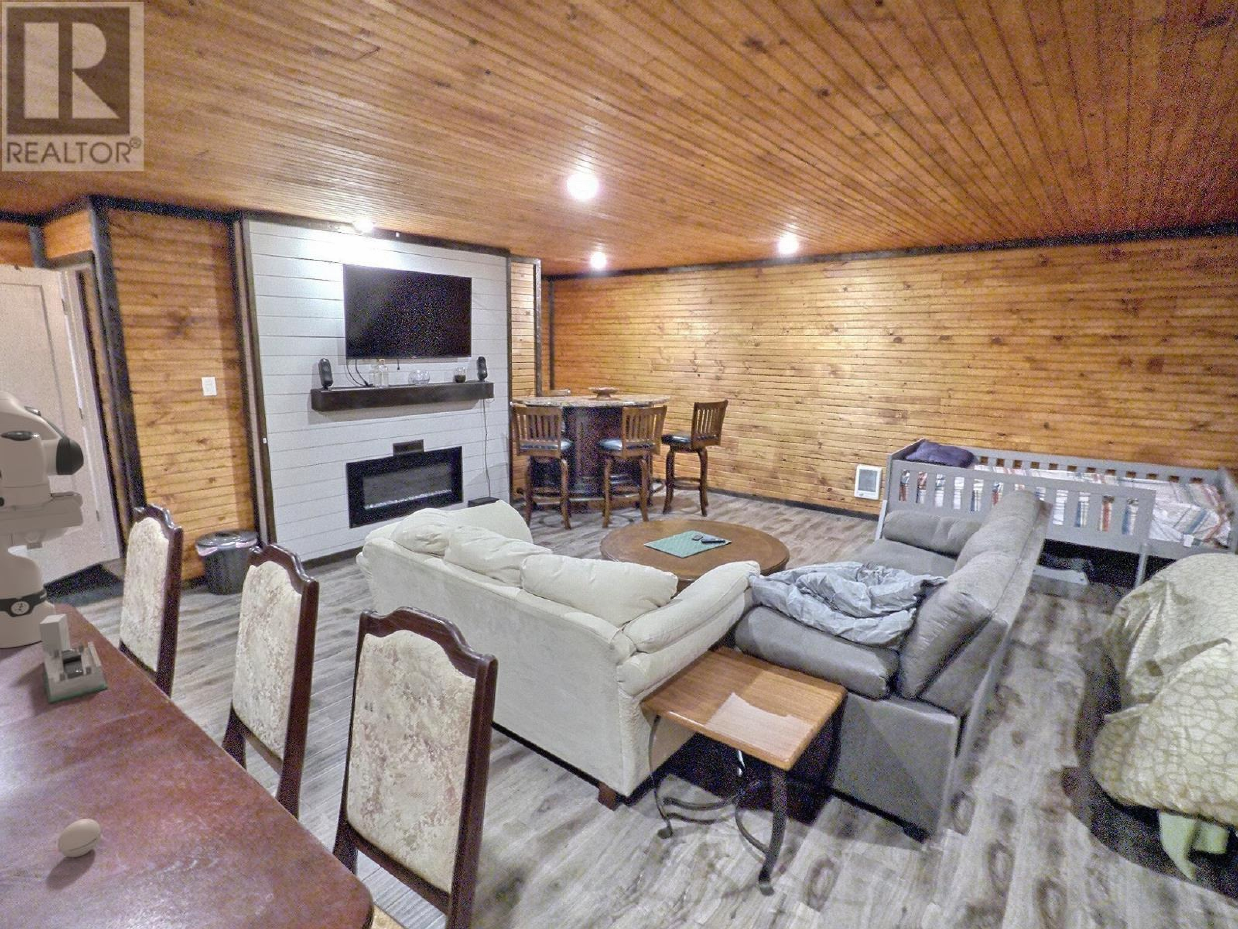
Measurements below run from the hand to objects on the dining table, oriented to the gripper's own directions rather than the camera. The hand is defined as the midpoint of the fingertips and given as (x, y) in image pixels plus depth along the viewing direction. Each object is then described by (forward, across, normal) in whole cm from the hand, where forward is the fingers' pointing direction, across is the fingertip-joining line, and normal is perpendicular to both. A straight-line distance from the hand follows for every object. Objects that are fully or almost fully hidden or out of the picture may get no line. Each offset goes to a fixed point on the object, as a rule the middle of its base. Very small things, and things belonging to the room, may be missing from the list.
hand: (34, 548), depth 161 cm
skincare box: (+34, -2, -8) cm, 35 cm away
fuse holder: (+34, -4, +10) cm, 36 cm away
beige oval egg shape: (+34, 0, +85) cm, 92 cm away
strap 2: (+29, -4, +15) cm, 33 cm away
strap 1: (+29, -4, +5) cm, 30 cm away
